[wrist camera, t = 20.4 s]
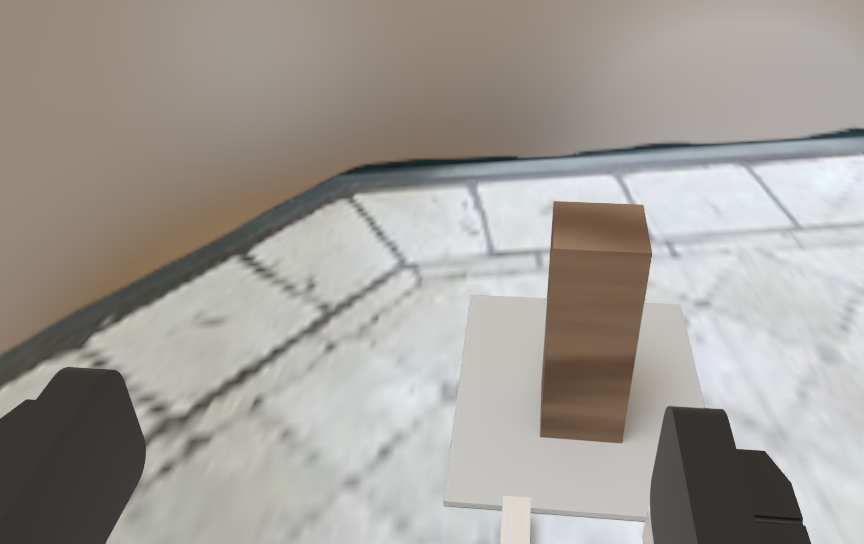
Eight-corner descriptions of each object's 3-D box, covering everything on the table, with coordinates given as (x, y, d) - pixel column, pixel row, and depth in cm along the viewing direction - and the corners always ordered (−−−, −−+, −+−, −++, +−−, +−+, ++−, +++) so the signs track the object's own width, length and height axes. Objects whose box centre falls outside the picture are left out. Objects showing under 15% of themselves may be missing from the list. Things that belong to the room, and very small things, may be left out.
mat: (731, 528, 43) (732, 523, 42) (443, 505, 44) (443, 501, 44) (679, 309, 59) (680, 304, 59) (470, 299, 61) (470, 295, 61)
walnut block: (621, 443, 47) (652, 253, 39) (540, 437, 48) (553, 248, 40) (616, 387, 51) (643, 204, 44) (541, 382, 52) (553, 201, 44)
